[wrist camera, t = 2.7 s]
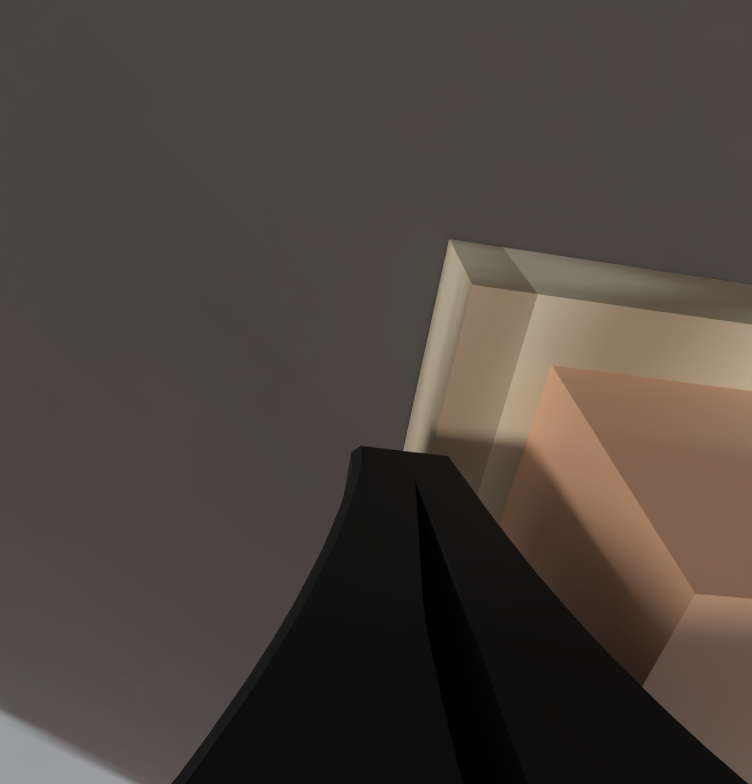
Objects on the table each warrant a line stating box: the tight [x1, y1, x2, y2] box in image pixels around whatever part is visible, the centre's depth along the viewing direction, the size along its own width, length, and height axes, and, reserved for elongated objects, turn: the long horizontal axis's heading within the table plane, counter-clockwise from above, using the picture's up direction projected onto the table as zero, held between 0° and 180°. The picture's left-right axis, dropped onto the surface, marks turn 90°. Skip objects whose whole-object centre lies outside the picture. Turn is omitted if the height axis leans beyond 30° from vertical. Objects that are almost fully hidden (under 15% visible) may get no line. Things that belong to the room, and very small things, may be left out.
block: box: [499, 365, 752, 784], centre depth 8 cm, size 4×4×4 cm
